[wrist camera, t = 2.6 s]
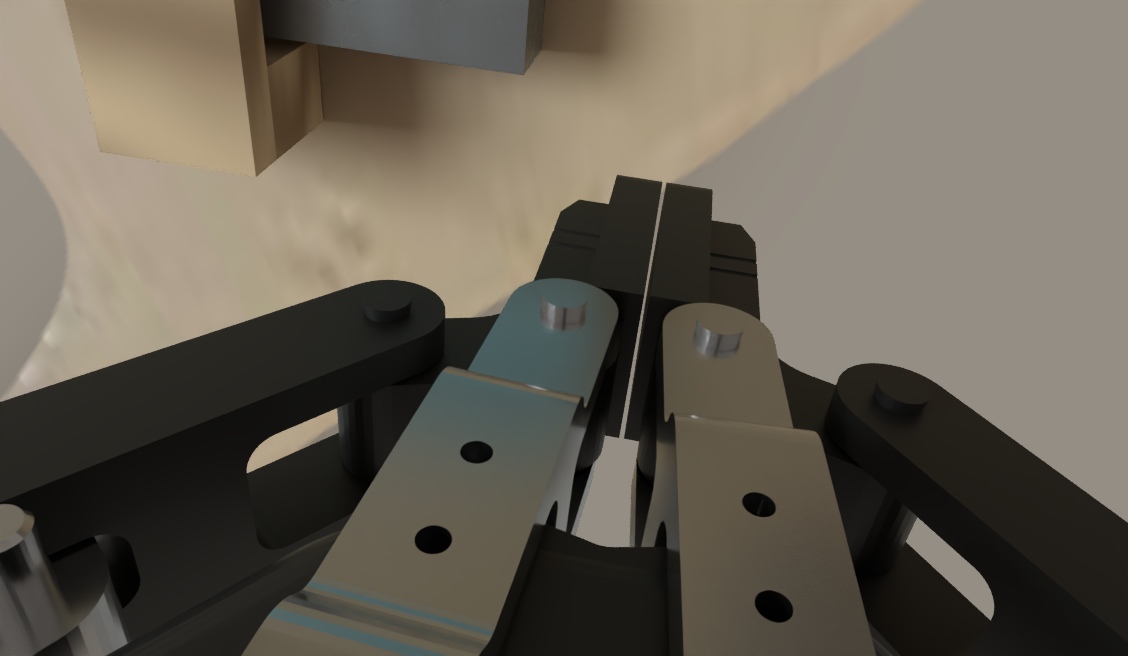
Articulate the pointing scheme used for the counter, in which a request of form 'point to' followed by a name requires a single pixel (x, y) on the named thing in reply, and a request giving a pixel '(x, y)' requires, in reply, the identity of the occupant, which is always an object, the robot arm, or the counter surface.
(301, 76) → the bore block
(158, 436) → the robot arm
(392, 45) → the metal bar
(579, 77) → the counter surface
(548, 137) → the counter surface
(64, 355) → the counter surface
